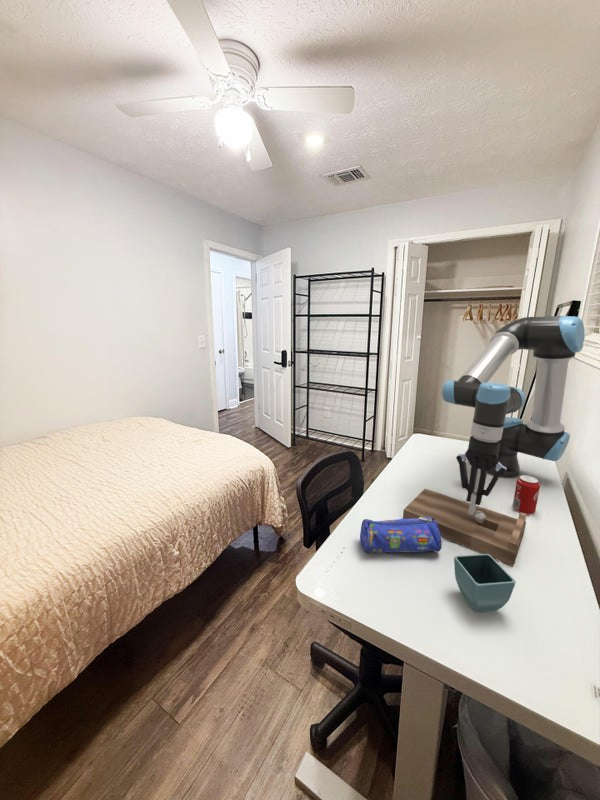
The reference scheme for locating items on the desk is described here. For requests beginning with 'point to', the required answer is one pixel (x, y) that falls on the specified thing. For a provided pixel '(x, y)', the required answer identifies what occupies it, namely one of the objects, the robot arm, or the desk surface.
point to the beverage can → (526, 495)
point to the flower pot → (483, 582)
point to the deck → (470, 525)
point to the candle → (470, 473)
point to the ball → (479, 516)
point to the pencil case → (400, 535)
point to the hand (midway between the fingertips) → (471, 512)
